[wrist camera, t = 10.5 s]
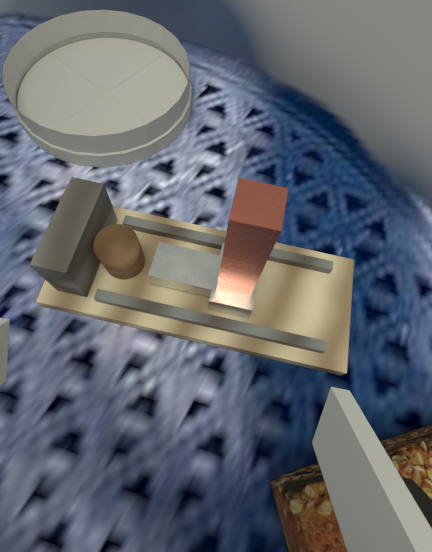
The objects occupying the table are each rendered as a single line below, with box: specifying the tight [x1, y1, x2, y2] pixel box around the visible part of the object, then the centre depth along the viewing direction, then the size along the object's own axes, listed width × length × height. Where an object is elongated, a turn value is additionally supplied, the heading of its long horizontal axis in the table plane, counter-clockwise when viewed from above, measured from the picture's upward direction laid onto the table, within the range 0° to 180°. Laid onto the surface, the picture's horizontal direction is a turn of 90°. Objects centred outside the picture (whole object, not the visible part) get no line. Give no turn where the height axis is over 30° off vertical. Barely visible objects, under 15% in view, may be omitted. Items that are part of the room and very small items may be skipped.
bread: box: [271, 424, 432, 552], centre depth 24 cm, size 19×11×10 cm, turn 104°
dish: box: [3, 10, 192, 167], centre depth 43 cm, size 22×22×5 cm
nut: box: [93, 224, 145, 280], centre depth 32 cm, size 4×4×4 cm
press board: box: [30, 177, 354, 375], centre depth 32 cm, size 30×12×8 cm, turn 78°
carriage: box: [148, 178, 288, 318], centre depth 27 cm, size 10×6×14 cm, turn 78°
